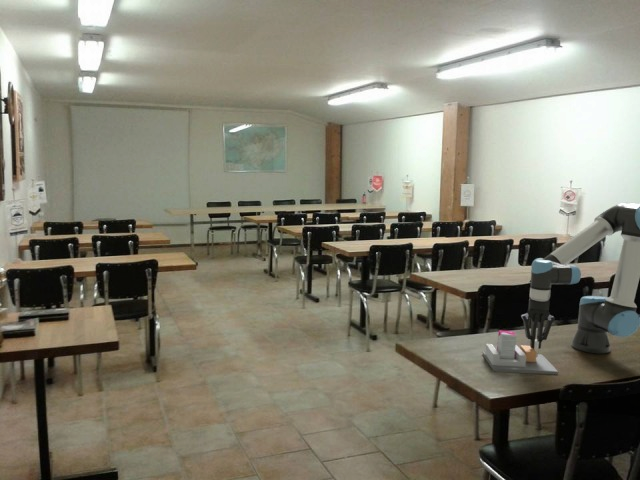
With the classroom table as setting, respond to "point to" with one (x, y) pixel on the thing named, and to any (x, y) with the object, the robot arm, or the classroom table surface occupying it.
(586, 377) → the classroom table surface
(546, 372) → the block
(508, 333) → the supplement box
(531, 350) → the block
